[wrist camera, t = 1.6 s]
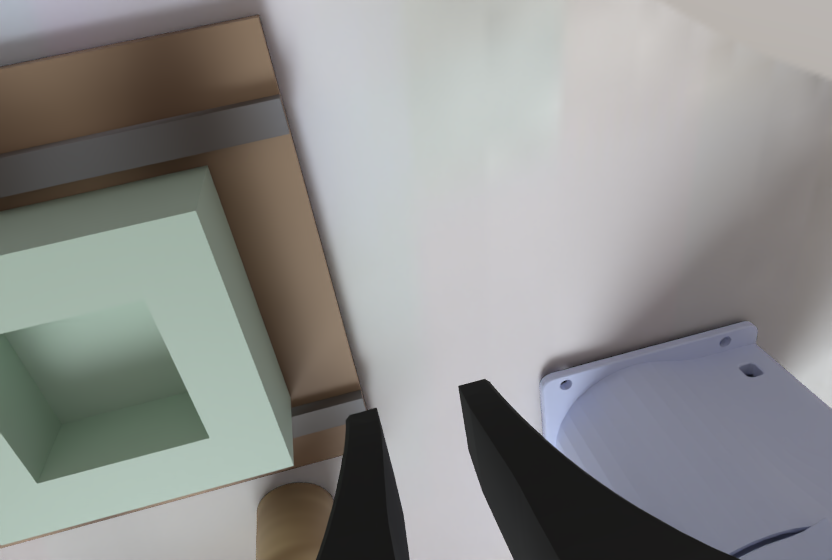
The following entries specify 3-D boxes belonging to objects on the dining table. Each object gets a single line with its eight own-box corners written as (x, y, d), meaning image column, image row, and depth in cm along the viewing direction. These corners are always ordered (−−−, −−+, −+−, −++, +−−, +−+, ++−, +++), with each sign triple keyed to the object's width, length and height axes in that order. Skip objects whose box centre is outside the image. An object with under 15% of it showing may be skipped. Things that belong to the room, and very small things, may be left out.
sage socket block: (207, 165, 18) (195, 210, 15) (290, 397, 22) (294, 465, 19) (-123, 238, 17) (-202, 301, 14) (36, 464, 21) (1, 545, 19)
